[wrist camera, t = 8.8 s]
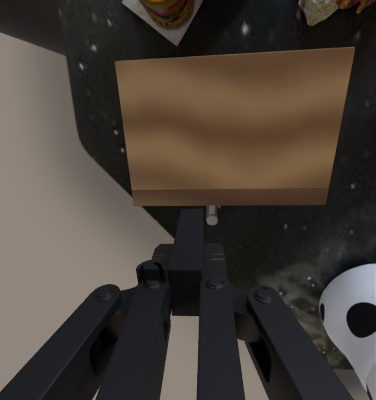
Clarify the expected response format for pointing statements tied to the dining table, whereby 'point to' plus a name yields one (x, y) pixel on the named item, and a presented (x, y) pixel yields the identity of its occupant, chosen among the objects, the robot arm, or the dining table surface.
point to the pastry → (327, 8)
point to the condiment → (166, 15)
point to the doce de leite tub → (353, 320)
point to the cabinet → (233, 126)
